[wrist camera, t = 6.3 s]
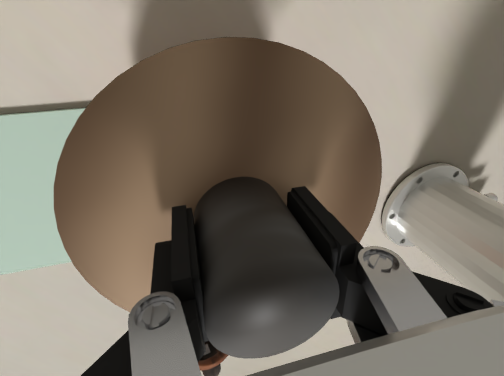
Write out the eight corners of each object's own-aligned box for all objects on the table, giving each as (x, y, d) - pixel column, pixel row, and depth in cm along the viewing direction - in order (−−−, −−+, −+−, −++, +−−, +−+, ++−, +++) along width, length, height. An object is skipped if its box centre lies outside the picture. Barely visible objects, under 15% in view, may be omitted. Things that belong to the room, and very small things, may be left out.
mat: (112, 105, 23) (111, 106, 23) (150, 244, 30) (150, 247, 30) (-105, 123, 20) (-111, 125, 20) (-7, 273, 28) (-10, 276, 27)
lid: (397, 29, 11) (584, 17, 6) (351, 283, 18) (422, 378, 13) (-12, 48, 8) (-299, 56, 3) (117, 340, 15) (88, 491, 10)
